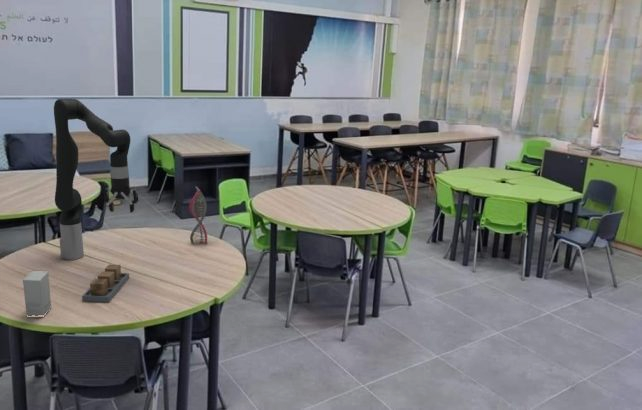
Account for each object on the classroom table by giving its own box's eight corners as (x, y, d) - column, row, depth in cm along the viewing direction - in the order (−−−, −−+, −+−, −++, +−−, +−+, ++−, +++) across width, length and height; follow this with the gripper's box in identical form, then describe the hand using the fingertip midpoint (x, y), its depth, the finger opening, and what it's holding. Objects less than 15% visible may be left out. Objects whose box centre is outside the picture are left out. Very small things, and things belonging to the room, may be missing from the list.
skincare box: (35, 308, 213) (31, 270, 208) (53, 308, 213) (49, 270, 209) (25, 318, 204) (21, 279, 200) (44, 318, 205) (40, 279, 201)
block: (91, 297, 221) (89, 283, 219) (96, 292, 226) (94, 278, 224) (103, 298, 221) (102, 284, 219) (108, 292, 226) (107, 279, 224)
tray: (82, 301, 219) (81, 285, 217) (105, 277, 243) (104, 262, 241) (109, 302, 219) (107, 286, 218) (129, 278, 243) (128, 263, 241)
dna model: (203, 246, 284) (202, 190, 276) (187, 245, 286) (185, 189, 278) (210, 241, 293) (209, 186, 285) (194, 239, 294) (193, 185, 286)
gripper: (139, 174, 242) (140, 210, 247) (106, 173, 242) (108, 208, 246) (133, 178, 235) (135, 214, 239) (100, 177, 235) (102, 213, 239)
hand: (121, 211), depth 243 cm, fingers open, 8 cm apart
